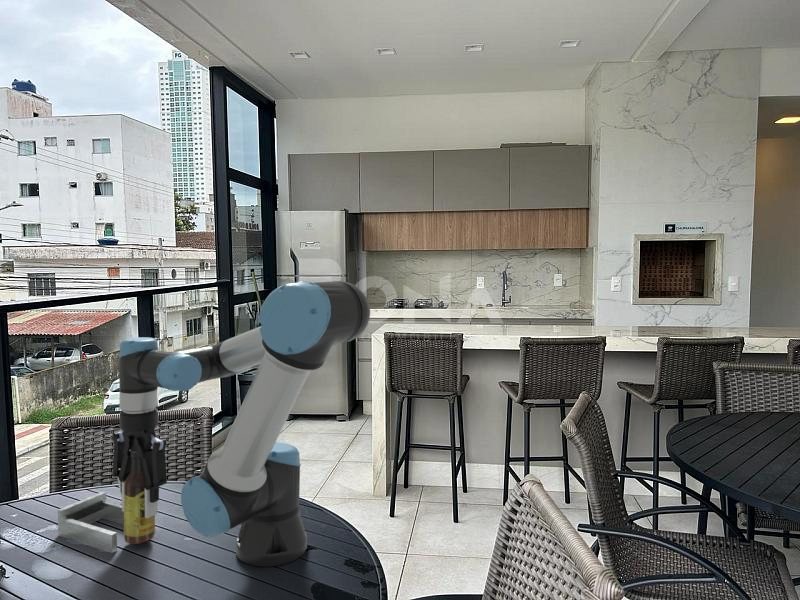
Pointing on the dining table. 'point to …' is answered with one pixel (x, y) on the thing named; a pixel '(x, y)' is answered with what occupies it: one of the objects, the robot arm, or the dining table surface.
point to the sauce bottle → (136, 504)
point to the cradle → (85, 512)
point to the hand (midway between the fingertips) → (139, 512)
